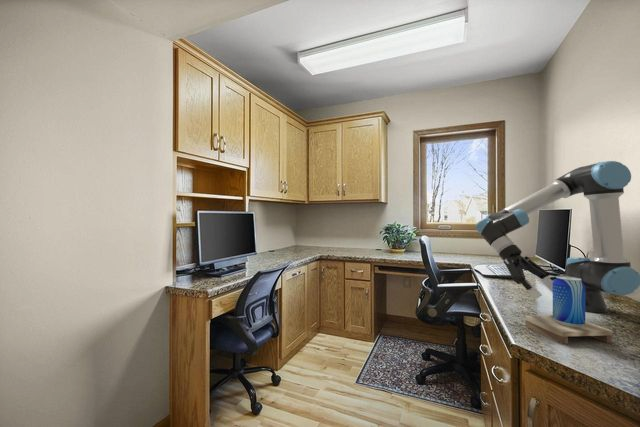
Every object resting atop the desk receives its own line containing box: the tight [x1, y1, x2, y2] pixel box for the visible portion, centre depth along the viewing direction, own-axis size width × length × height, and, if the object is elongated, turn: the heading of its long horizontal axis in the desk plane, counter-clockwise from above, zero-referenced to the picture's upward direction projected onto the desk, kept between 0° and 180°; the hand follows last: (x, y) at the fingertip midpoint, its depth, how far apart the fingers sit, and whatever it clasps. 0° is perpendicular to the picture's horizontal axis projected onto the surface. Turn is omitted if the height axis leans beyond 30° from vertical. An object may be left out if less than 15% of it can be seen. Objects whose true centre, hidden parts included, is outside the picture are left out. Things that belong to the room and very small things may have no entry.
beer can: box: [552, 275, 586, 328], centre depth 94 cm, size 8×8×16 cm
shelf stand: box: [525, 315, 613, 345], centre depth 95 cm, size 18×14×4 cm
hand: (549, 295), depth 99 cm, fingers open, 13 cm apart
